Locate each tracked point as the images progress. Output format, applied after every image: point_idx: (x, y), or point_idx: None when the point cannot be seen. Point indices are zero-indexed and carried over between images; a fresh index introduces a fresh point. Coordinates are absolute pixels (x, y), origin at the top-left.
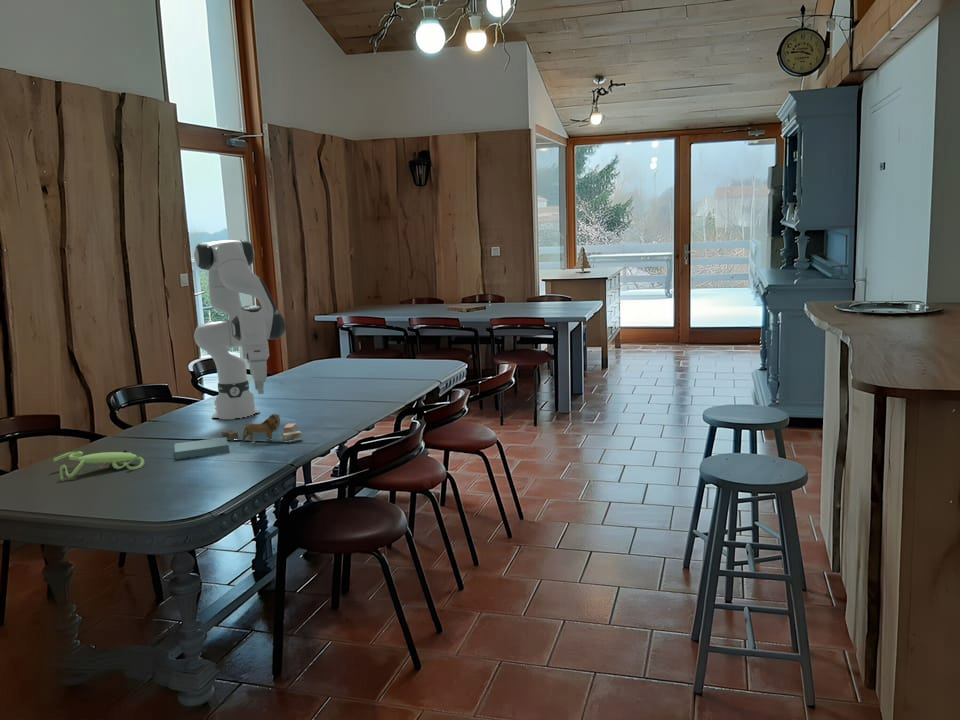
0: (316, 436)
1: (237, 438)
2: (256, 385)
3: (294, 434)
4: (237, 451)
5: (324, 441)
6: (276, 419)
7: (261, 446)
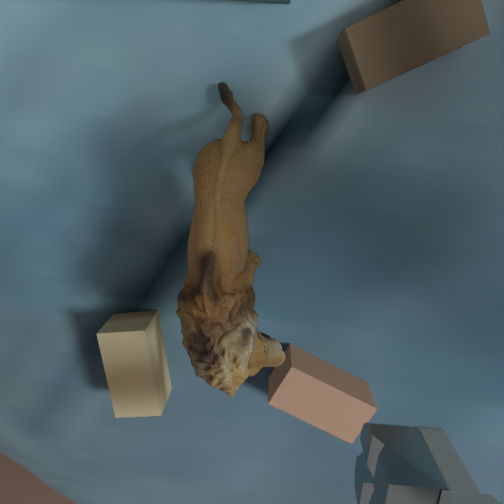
0: (165, 457)
1: (355, 86)
2: (379, 491)
3: (109, 380)
4: (62, 43)
5: (53, 460)
6: (191, 359)
7: (108, 192)
